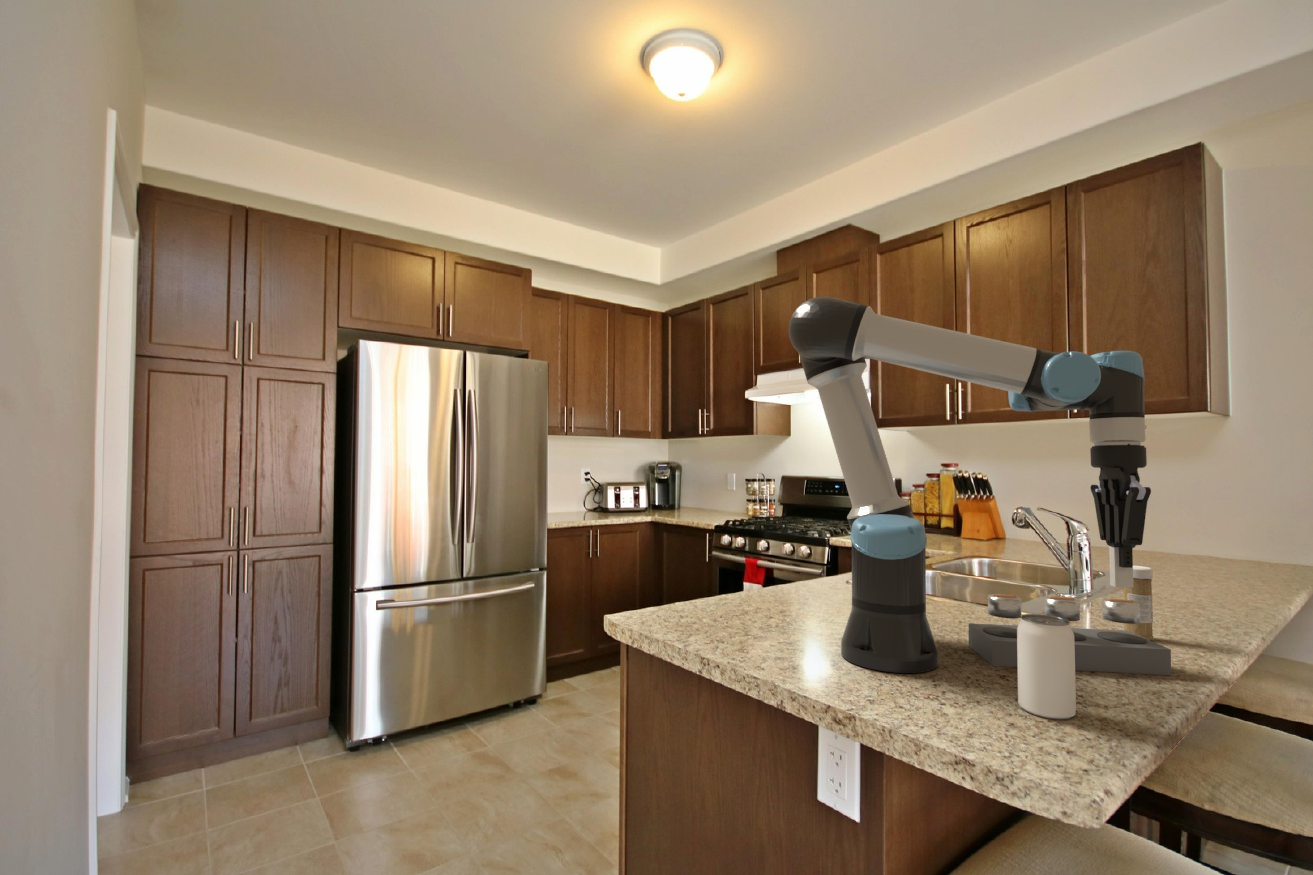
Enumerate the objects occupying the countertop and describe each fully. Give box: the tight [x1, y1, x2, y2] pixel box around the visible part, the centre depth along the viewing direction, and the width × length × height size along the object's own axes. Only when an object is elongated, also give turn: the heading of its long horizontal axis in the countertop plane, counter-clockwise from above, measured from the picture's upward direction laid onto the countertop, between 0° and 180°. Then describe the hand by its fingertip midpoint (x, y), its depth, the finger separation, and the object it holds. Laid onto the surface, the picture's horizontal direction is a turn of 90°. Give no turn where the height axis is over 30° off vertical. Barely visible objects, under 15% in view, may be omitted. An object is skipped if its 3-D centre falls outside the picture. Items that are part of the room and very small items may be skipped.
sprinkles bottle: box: [1123, 564, 1154, 641], centre depth 117 cm, size 5×5×14 cm
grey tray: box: [968, 622, 1172, 676], centre depth 104 cm, size 26×11×4 cm, turn 81°
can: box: [1017, 613, 1077, 721], centre depth 82 cm, size 6×6×12 cm
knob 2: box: [1101, 597, 1140, 624], centre depth 102 cm, size 5×5×3 cm
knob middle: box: [1043, 595, 1081, 622], centre depth 104 cm, size 5×5×3 cm
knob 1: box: [987, 593, 1023, 620], centre depth 105 cm, size 5×5×3 cm
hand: (1121, 586), depth 103 cm, fingers closed
